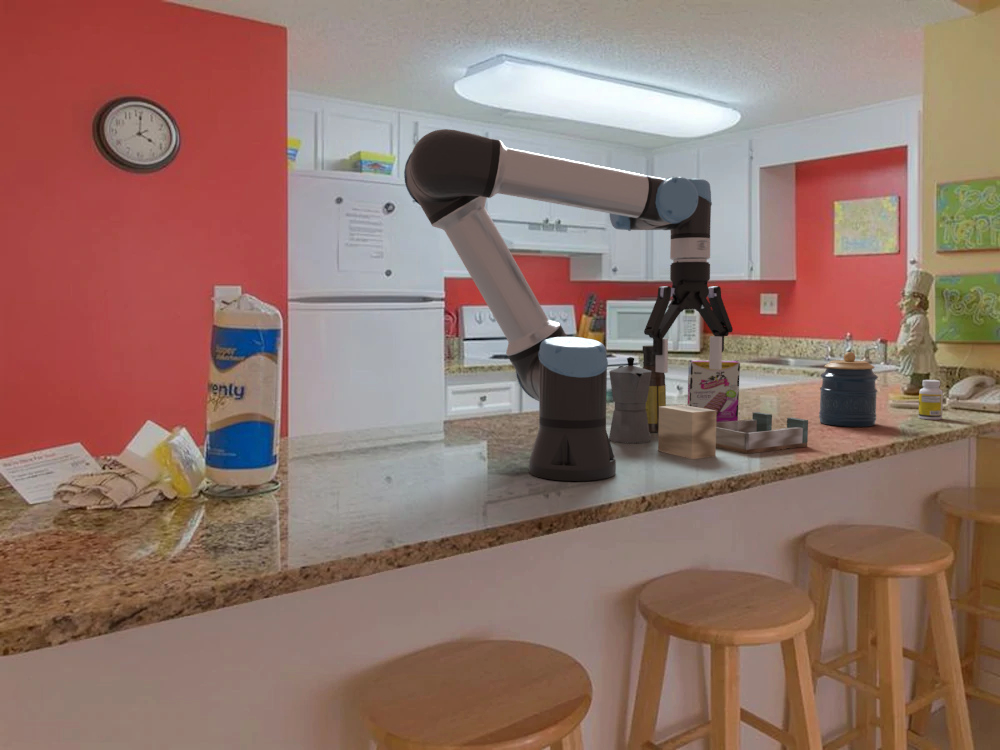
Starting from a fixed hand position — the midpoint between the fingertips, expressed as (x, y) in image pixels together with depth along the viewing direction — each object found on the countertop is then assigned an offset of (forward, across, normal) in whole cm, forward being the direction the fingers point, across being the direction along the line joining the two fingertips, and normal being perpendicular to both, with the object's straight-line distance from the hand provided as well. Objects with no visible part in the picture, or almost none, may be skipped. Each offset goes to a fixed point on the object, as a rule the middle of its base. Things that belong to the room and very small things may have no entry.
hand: (688, 370), depth 160 cm
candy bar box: (+17, +24, +19) cm, 35 cm away
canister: (+17, +61, +12) cm, 64 cm away
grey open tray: (+16, +18, +1) cm, 25 cm away
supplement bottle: (+17, +87, +8) cm, 89 cm away
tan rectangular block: (+16, 0, 0) cm, 16 cm away
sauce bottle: (+17, +12, +26) cm, 33 cm away
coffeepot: (+16, 0, +19) cm, 25 cm away
